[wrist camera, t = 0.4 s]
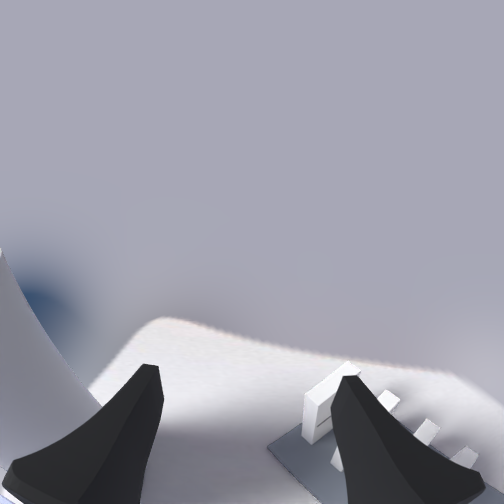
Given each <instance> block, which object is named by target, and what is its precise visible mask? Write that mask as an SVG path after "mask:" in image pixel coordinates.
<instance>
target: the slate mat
mask: <svg viewBox="0 0 504 504" xmlns="http://www.w3.org/2000/svg"><path fill="white" fill-rule="evenodd" d="M302 423H303V422H302ZM302 423H301V424H299V425H298V426H297V427H295V428H294V429H292V430H291V431H290V432H288V433H287V434H285V435H284V436H282V437H281V438H279V439H278V440H276V441H275V442H273V443H272V444H270V445H269V446H267V448H268V449H269V450H270V451H271V452H272V453H273V455H274V456H275V457H276V458H277V459H278V460H279V461H280V462H281V463H282V464H283V465H284V466H285V467H286V468H287V470H288V471H289V472H290V473H291V474H292V475H293V476H294V477H295V478H296V479H297V480H298V481H299V482H300V483H301V484H302V485H303V486H304V487H305V488H306V489H307V490H308V491H309V492H310V493H311V494H312V495H313V496H314V497H316V498H317V499H318V500H319V501H320V502H321V503H322V504H348V497H347V487H346V479H345V474H344V470H343V471H342V472H340V471H339V470H338V469H337V468H335V467H334V466H333V465H332V464H331V463H330V462H331V460H332V457H333V455H334V453H335V450H336V448H337V443H336V439H335V435H334V431H333V429H331V430H330V431H329V432H328V433H327V434H325V435H324V436H323V437H321V438H320V439H319V440H318V441H316V442H315V443H314V444H312V445H311V444H310V443H309V442H308V441H307V440H305V439H304V438H303V437H302V436H301V435H302ZM399 423H400V422H399ZM400 424H401V423H400ZM401 425H402V424H401ZM402 426H403V427H404V428H405V429H407V430H408V431H409V432H410V433H411V434H412V435H413V434H414V433H413V432H412V431H411V430H409V429H408V428H407V427H405V426H404V425H402ZM428 447H429V448H431V449H432V450H434V451H436V452H437V453H439V454H440V455H442V456H444V457H445V458H447V459H450V458H448V457H447V456H445V455H444V454H442V453H441V452H440V451H438V450H437V449H435V448H434V447H433V446H431V445H430V444H429V445H428ZM483 482H484V481H483ZM484 484H485V486H486V489H485V491H484V492H483V493H482V494H481V495H479V496H478V497H477V498H475V499H474V500H473V501H471V502H470V503H468V504H504V494H502V493H501V492H499V491H498V490H496V489H494V488H493V487H491V486H490V485H488V484H487V483H485V482H484Z"/></svg>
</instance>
